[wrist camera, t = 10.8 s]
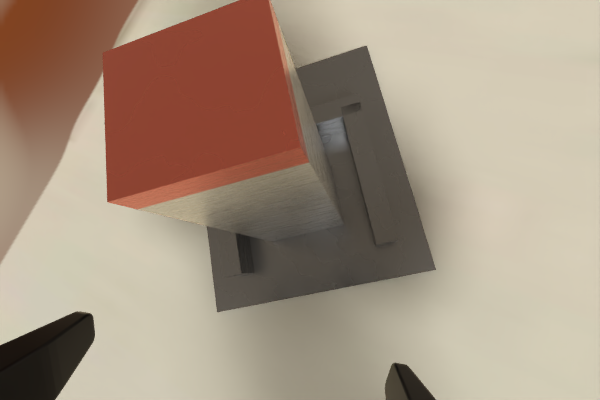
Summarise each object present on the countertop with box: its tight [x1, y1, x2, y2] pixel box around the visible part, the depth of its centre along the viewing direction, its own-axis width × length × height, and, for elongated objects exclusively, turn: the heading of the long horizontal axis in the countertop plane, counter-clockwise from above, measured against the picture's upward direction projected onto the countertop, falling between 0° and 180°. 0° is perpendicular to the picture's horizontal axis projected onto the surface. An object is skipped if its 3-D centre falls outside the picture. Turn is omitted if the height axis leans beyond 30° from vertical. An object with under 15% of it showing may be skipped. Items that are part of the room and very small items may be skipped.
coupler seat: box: [207, 46, 436, 312], centre depth 19 cm, size 16×14×3 cm
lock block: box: [103, 0, 344, 241], centre depth 14 cm, size 5×5×13 cm
